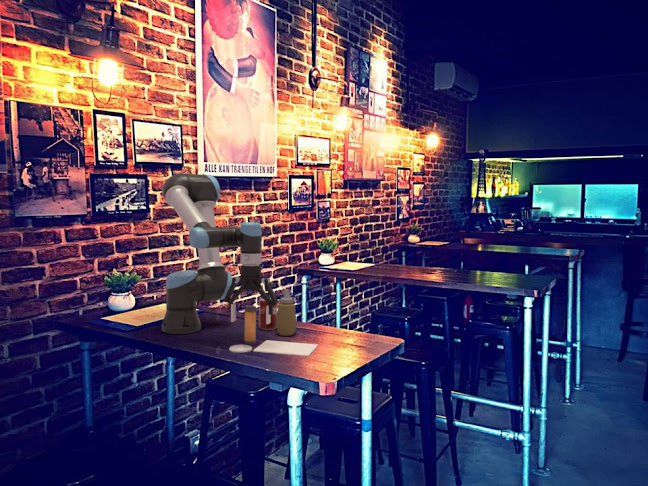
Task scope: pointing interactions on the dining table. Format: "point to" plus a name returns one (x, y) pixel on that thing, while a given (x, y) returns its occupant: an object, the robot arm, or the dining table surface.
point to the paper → (286, 348)
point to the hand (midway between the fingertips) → (250, 322)
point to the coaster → (240, 348)
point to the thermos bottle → (250, 324)
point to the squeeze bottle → (286, 316)
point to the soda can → (263, 316)
